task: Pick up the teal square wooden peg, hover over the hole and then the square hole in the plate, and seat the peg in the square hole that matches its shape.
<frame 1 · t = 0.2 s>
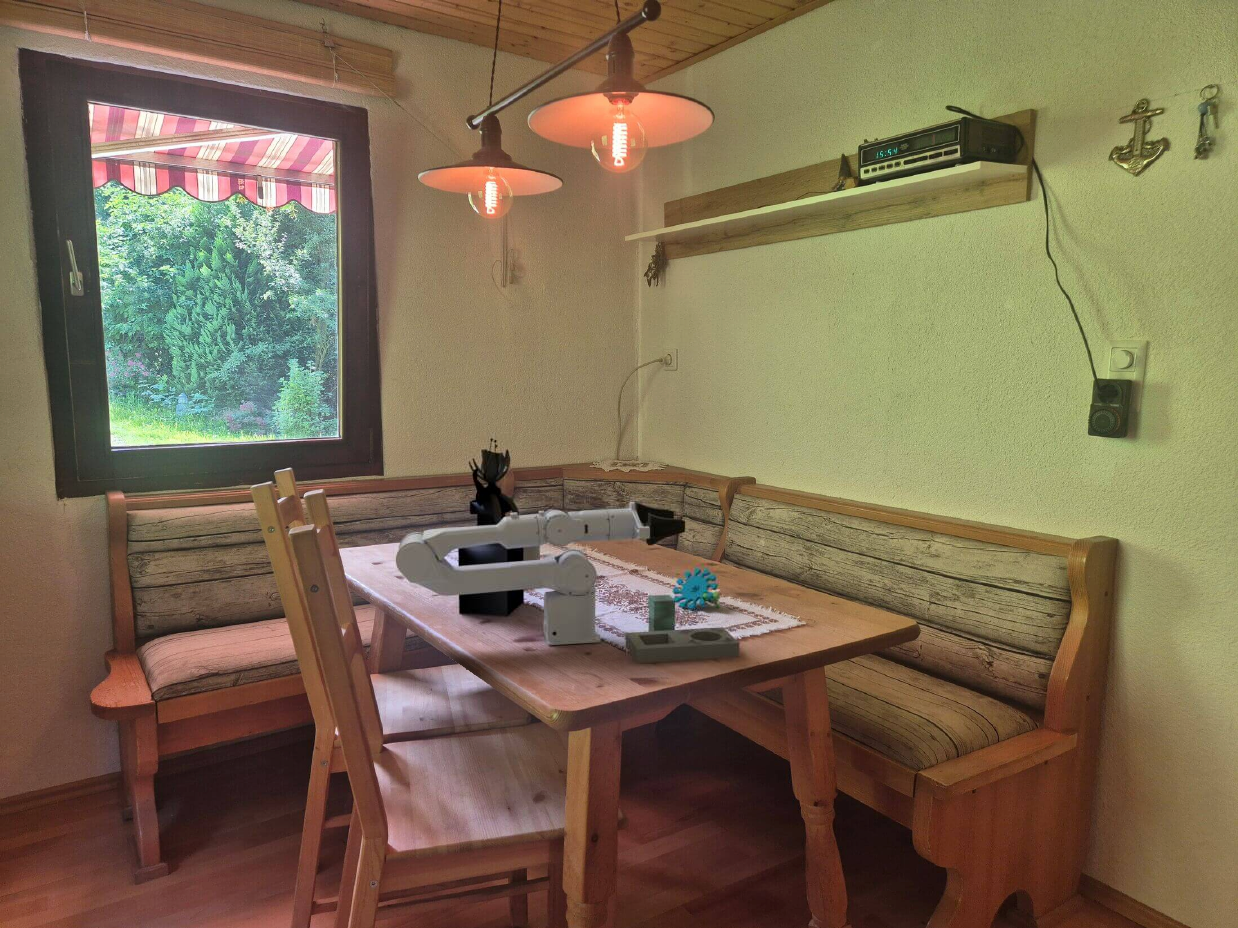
hand: (678, 521, 153), 21 cm above the table, tool horizontal, fingers open, 7 cm apart
pillar candle: (520, 576, 198), on the table
square peg: (661, 634, 154), on the table
hole plate: (681, 651, 145), on the table
gear: (696, 607, 173), on the table
vase: (492, 609, 170), on the table
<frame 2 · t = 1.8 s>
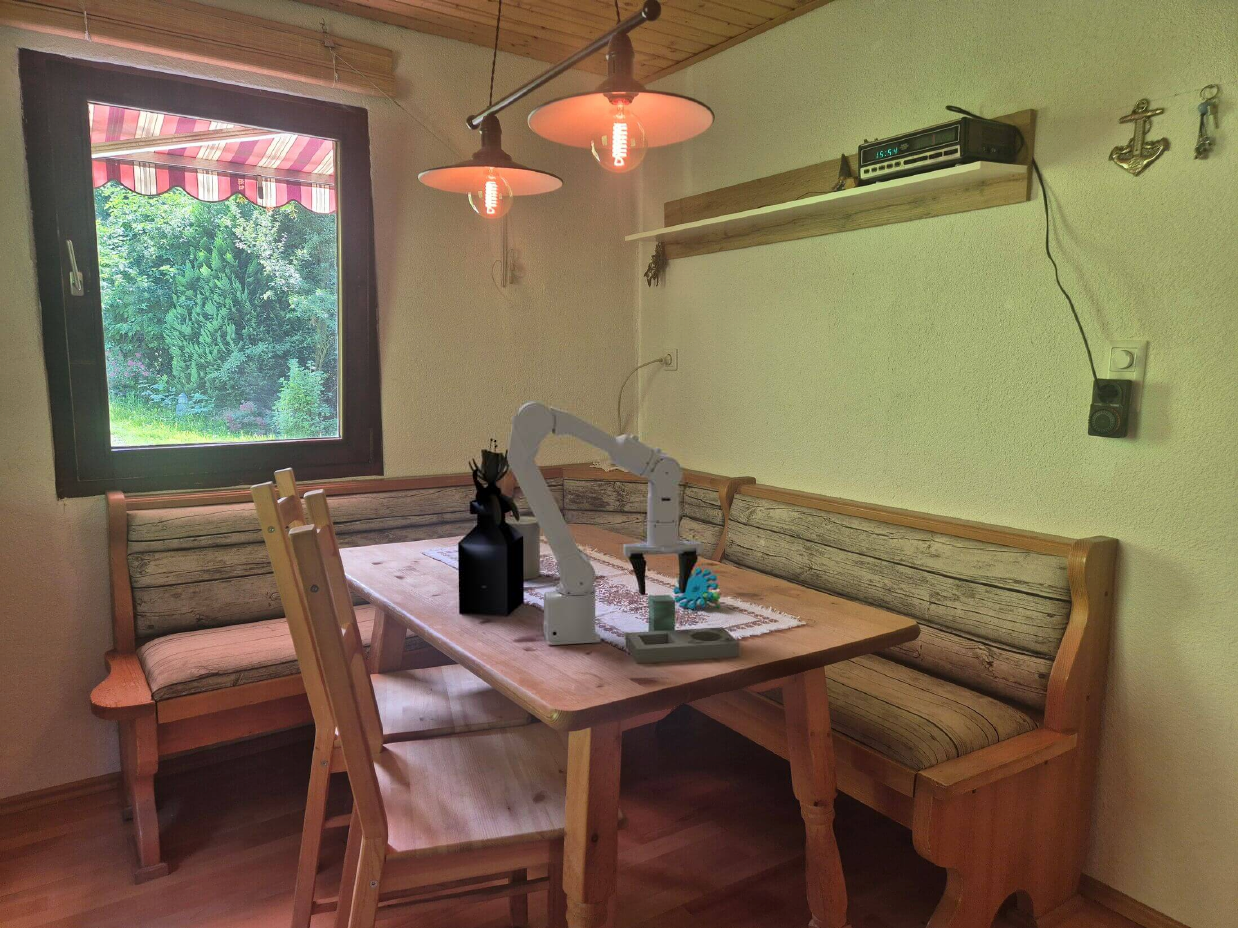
hand: (662, 592, 153), 8 cm above the table, tool pointing down, fingers open, 7 cm apart
nothing on the table moved.
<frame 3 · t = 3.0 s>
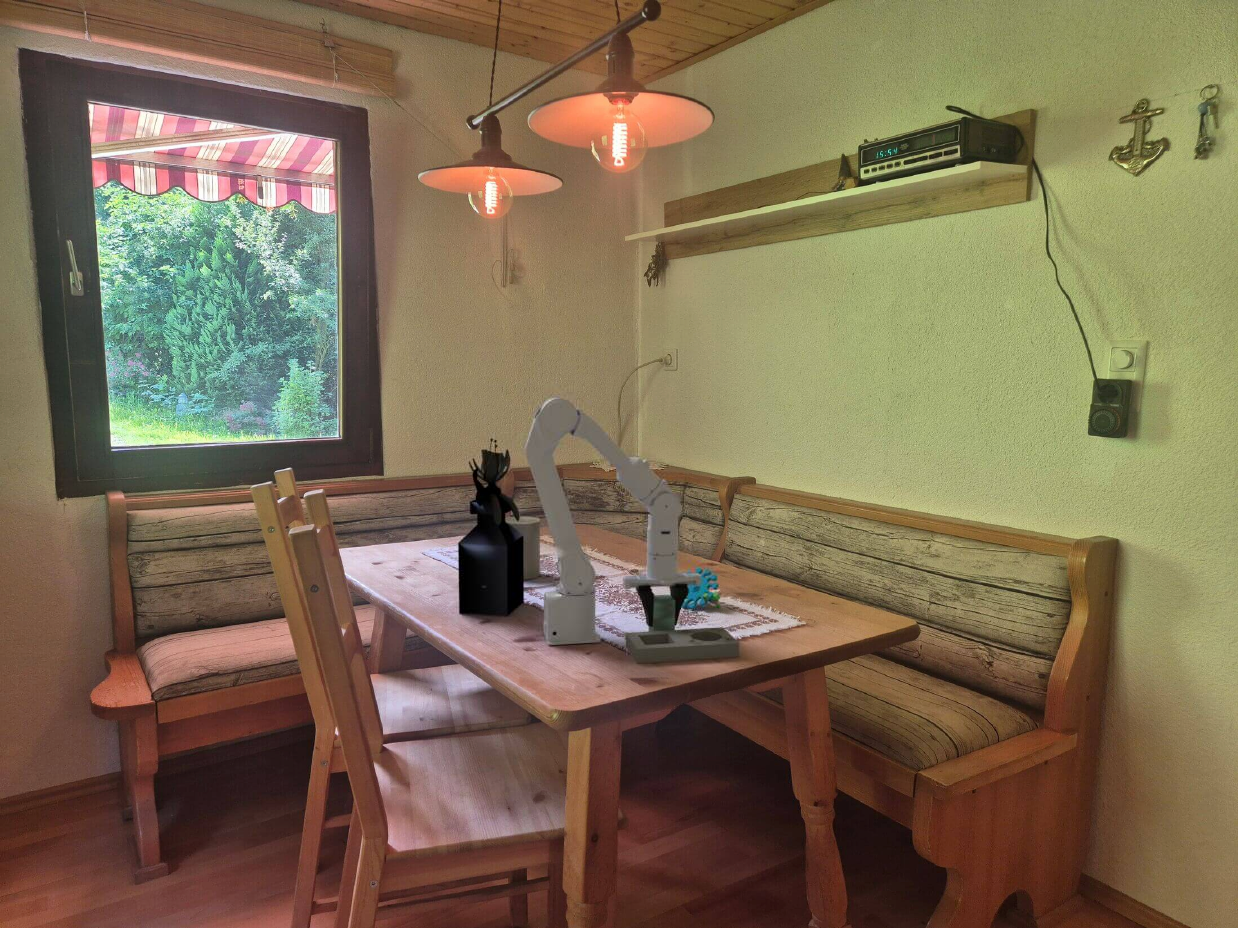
hand: (661, 624, 154), 2 cm above the table, tool pointing down, fingers closed on square peg, 4 cm apart
square peg: (661, 634, 154), on the table, touching gripper
everything else where it was.
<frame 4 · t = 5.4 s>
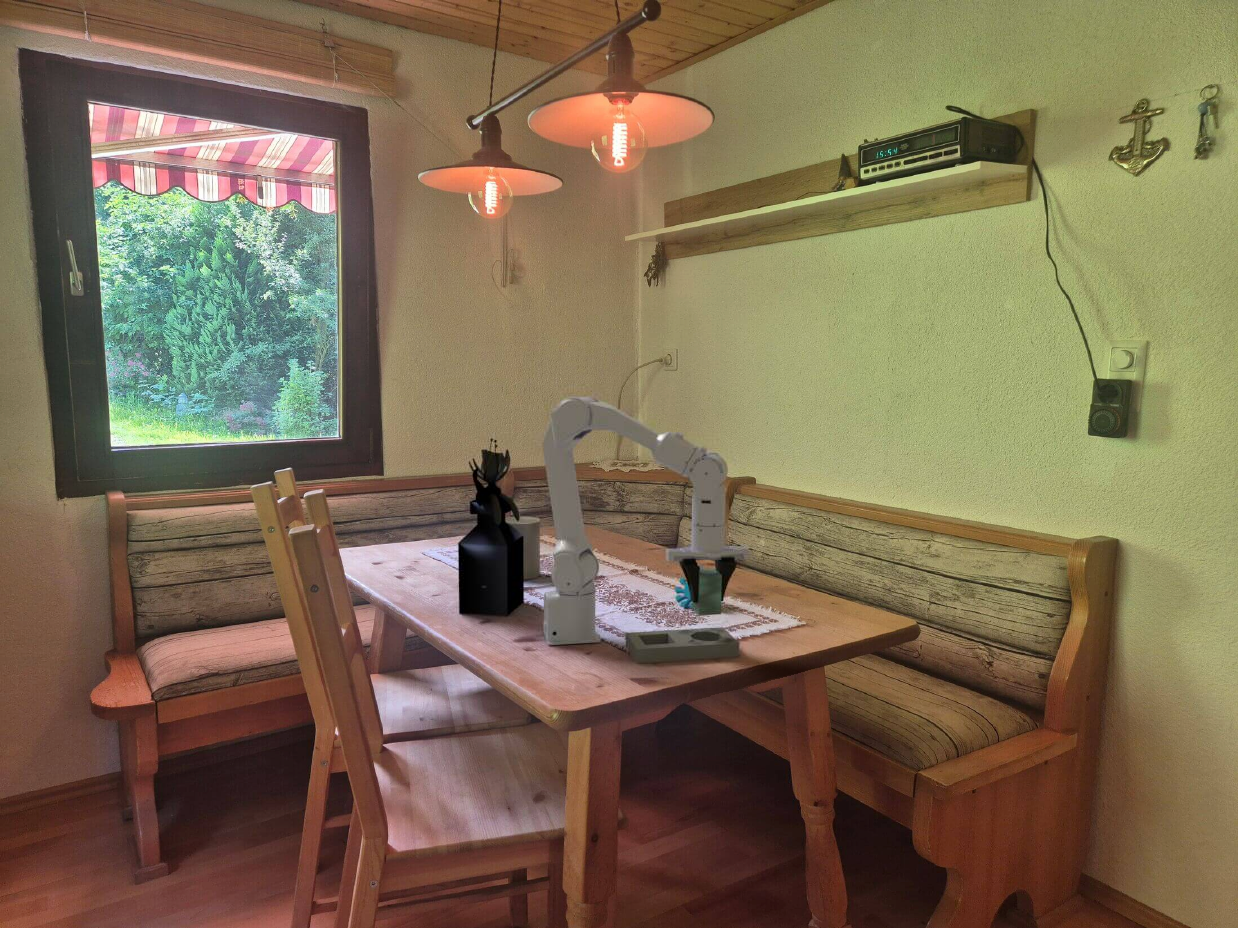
hand: (706, 600, 144), 9 cm above the table, tool pointing down, fingers closed on square peg, 4 cm apart
square peg: (706, 611, 145), point 7 cm above the table, touching gripper
everything else where it was.
when the fingers open (4 cm above the table, at t = 8.2 s): square peg drops 2 cm, resting in hole plate.
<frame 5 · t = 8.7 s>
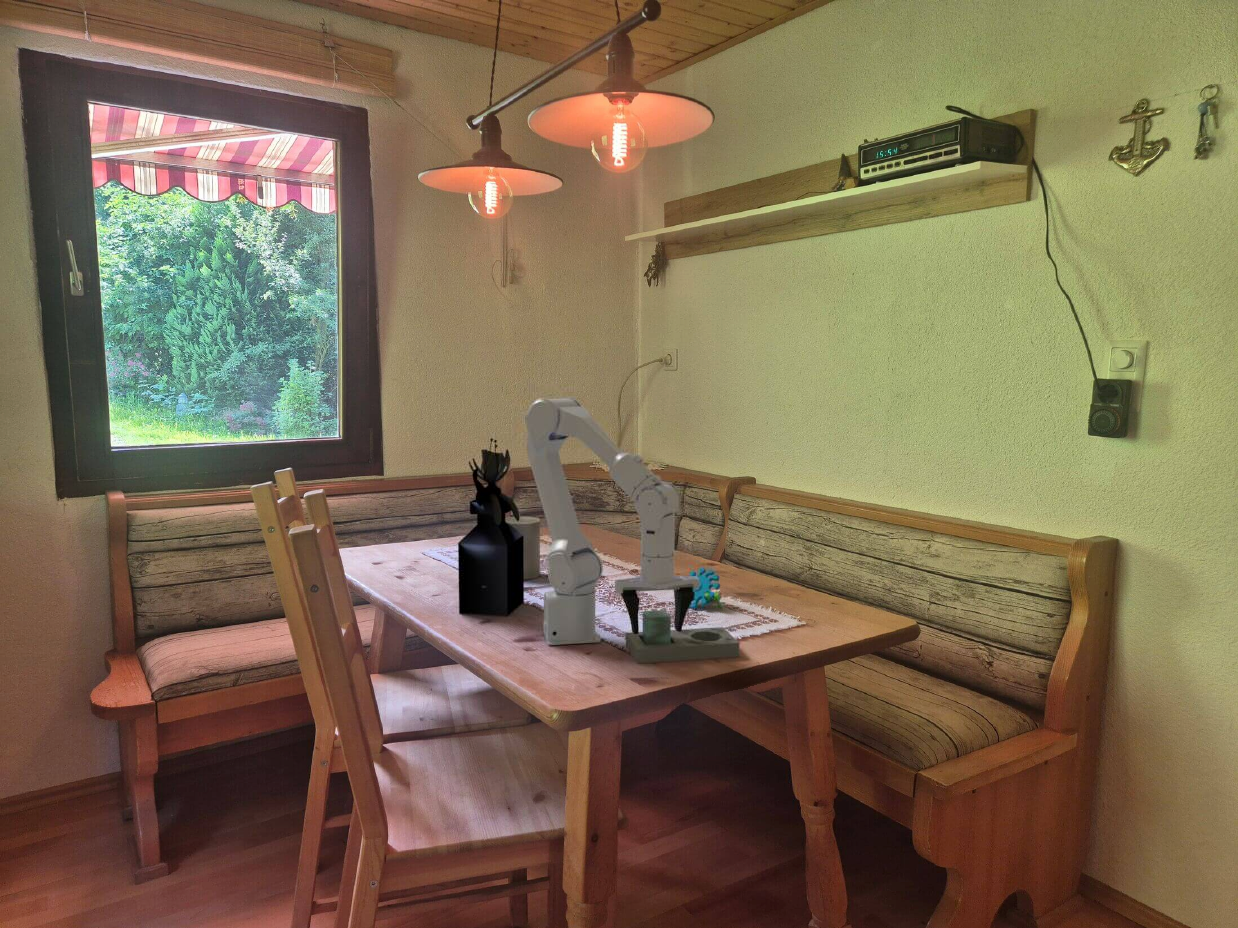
hand: (656, 631, 143), 4 cm above the table, tool pointing down, fingers open, 7 cm apart
square peg: (656, 653, 144), resting in hole plate
everything else where it was.
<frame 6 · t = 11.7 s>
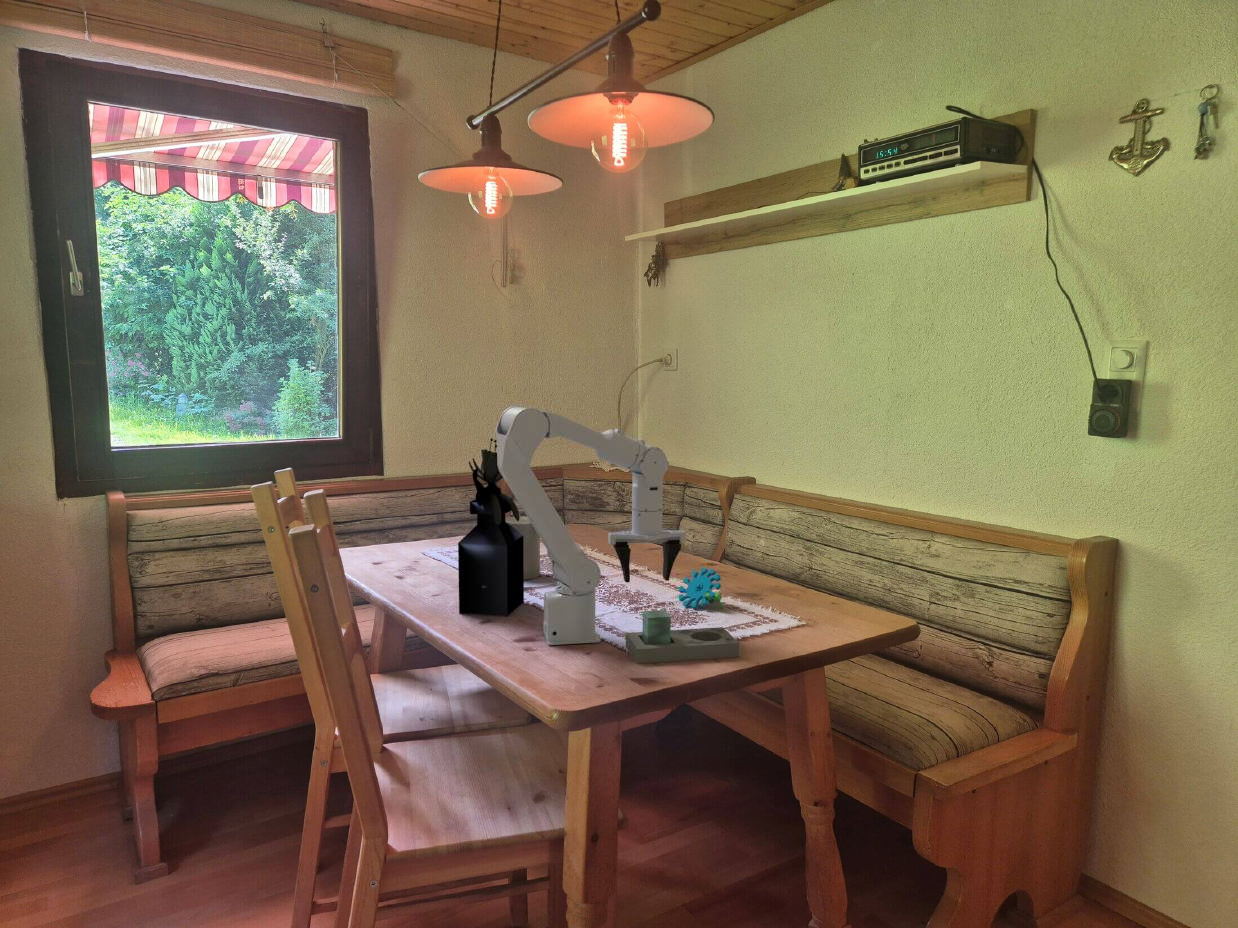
hand: (646, 580, 157), 9 cm above the table, tool pointing down, fingers open, 7 cm apart
at the end: square peg 0.1 cm from the target spot on the hole plate, point 0.0 cm above the hole plate's base; square peg tilted 0°; the gripper is holding nothing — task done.
